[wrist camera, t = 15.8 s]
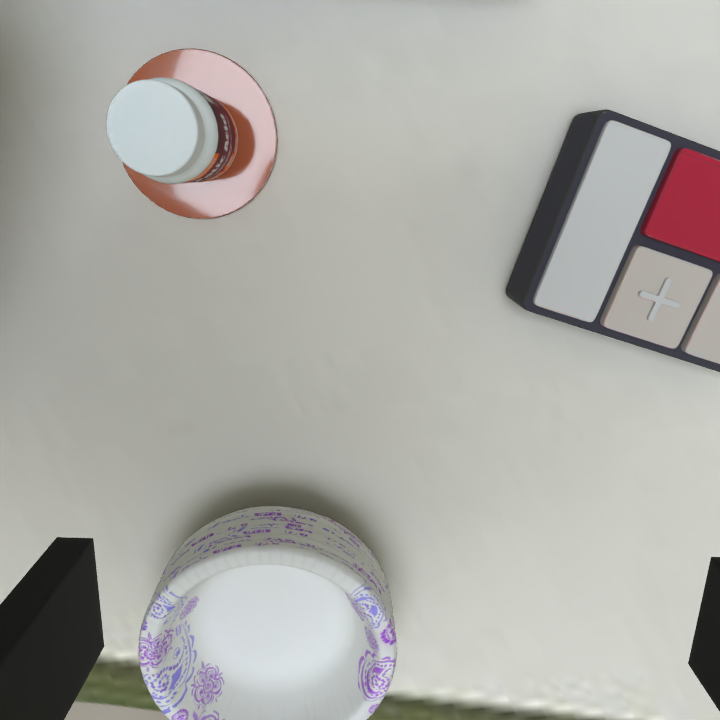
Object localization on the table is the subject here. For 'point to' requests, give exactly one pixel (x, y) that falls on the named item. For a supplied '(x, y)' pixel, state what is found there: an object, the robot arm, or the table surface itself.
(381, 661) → the paper bowls
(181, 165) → the pill bottle
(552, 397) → the table surface
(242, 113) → the coaster
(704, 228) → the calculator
